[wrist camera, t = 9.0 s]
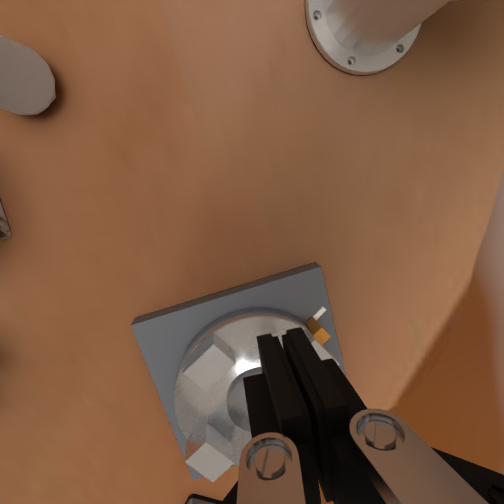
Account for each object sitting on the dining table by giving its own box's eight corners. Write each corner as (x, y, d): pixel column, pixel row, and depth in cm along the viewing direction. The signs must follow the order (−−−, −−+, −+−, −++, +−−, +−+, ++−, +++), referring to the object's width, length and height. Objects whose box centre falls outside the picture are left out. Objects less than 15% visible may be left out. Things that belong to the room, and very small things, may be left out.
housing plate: (314, 262, 36) (321, 266, 34) (349, 411, 41) (356, 422, 39) (135, 317, 34) (130, 325, 32) (193, 466, 40) (193, 481, 37)
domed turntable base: (265, 268, 33) (276, 283, 28) (361, 366, 38) (387, 396, 32) (143, 386, 34) (130, 423, 28) (251, 468, 38) (258, 514, 33)
